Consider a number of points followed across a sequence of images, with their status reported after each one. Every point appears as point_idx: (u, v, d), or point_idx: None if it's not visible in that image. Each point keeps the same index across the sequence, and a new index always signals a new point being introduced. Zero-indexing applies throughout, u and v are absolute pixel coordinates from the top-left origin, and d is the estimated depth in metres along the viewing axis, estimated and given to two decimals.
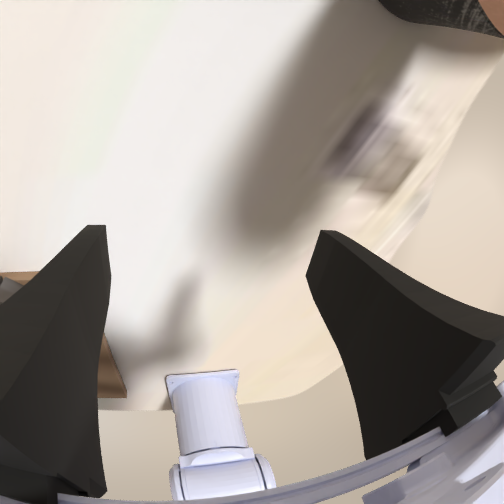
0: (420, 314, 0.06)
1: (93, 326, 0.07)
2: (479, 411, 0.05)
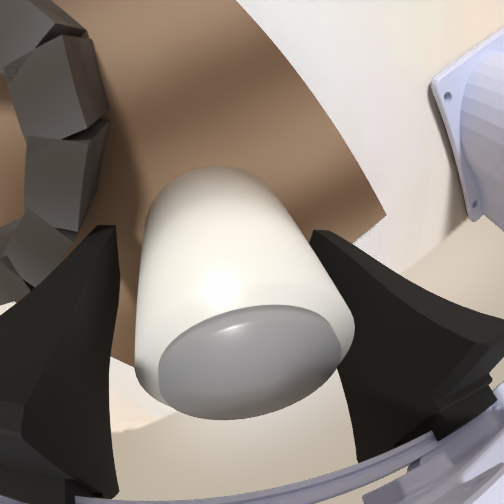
0: (411, 316, 0.06)
1: (105, 326, 0.07)
2: (473, 415, 0.05)
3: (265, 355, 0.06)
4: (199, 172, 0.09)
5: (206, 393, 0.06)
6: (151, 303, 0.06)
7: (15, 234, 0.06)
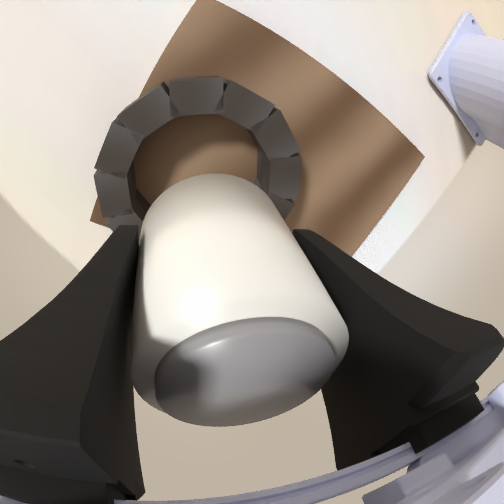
0: (387, 320, 0.06)
1: (130, 327, 0.07)
2: (455, 427, 0.05)
3: (258, 365, 0.06)
4: (192, 180, 0.09)
5: (202, 402, 0.06)
6: (145, 316, 0.06)
7: None
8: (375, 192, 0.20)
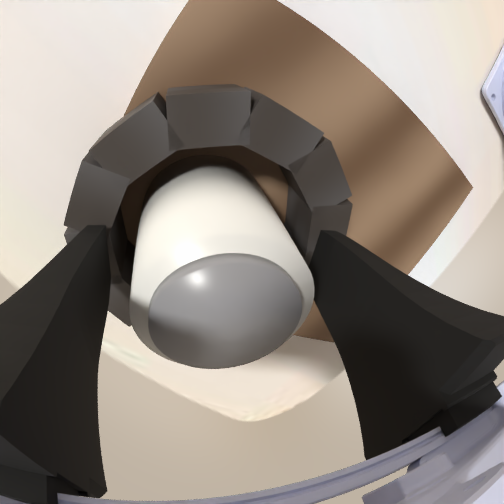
0: (420, 314, 0.06)
1: (93, 326, 0.07)
2: (479, 411, 0.05)
3: (233, 297, 0.07)
4: (186, 160, 0.11)
5: (188, 335, 0.08)
6: (143, 256, 0.07)
7: None
8: (419, 231, 0.16)
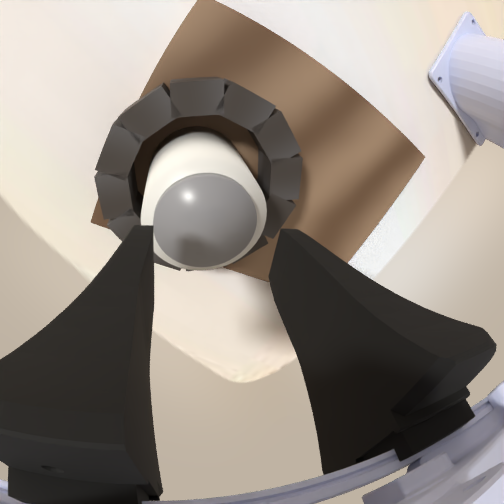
0: (371, 323, 0.06)
1: (147, 327, 0.08)
2: (443, 434, 0.05)
3: (208, 201, 0.11)
4: (183, 129, 0.14)
5: (179, 233, 0.12)
6: (152, 179, 0.11)
7: None
8: (376, 192, 0.20)
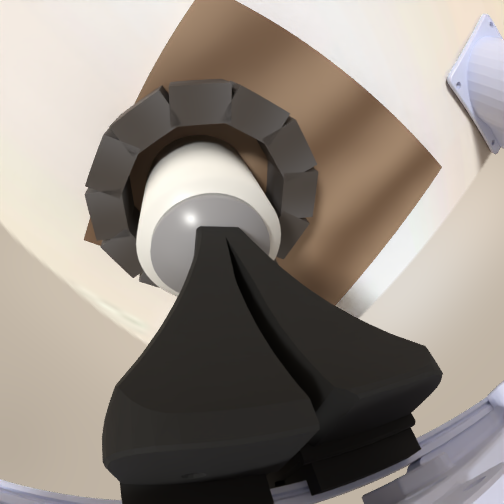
0: (278, 333, 0.05)
1: None
2: (370, 471, 0.04)
3: None
4: (184, 138, 0.13)
5: (180, 262, 0.10)
6: (148, 200, 0.10)
7: None
8: (391, 205, 0.18)
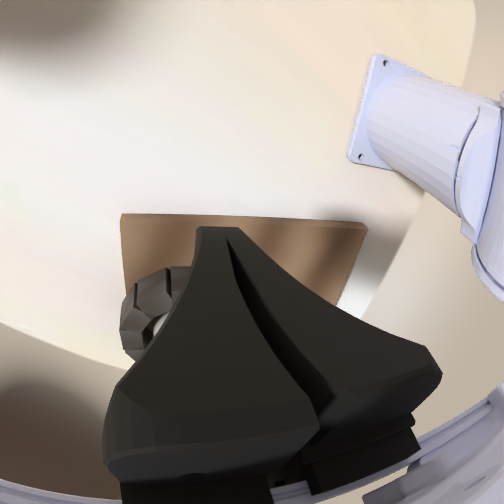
0: (279, 334, 0.05)
1: None
2: (369, 471, 0.04)
3: None
4: None
5: None
6: None
7: None
8: (329, 274, 0.25)
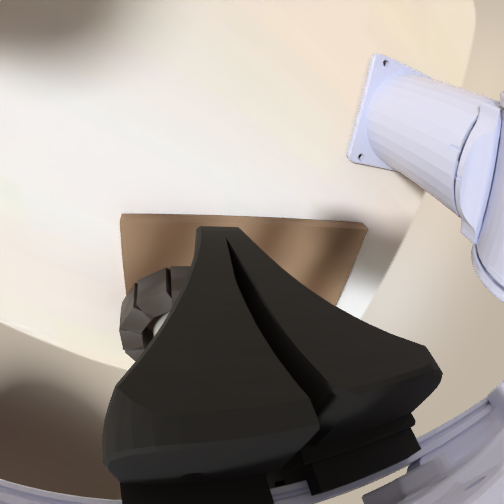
0: (279, 334, 0.05)
1: None
2: (369, 471, 0.04)
3: None
4: None
5: None
6: None
7: None
8: (329, 274, 0.25)
